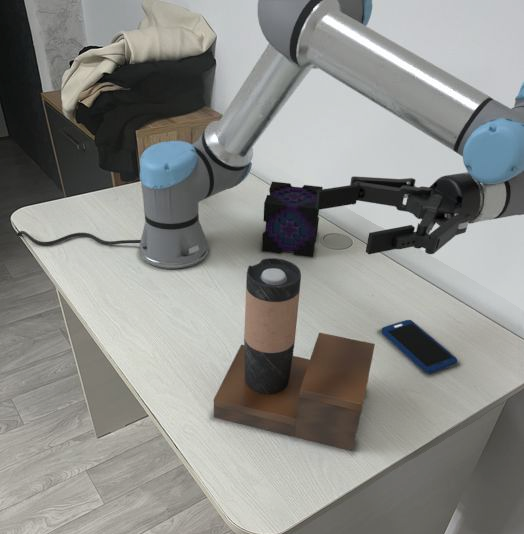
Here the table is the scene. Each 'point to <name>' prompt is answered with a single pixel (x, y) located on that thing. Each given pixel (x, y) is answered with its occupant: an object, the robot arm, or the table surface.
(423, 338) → the cell phone
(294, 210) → the energy cube
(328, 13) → the robot arm
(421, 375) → the table surface
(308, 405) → the walnut shelf
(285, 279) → the travel mug
